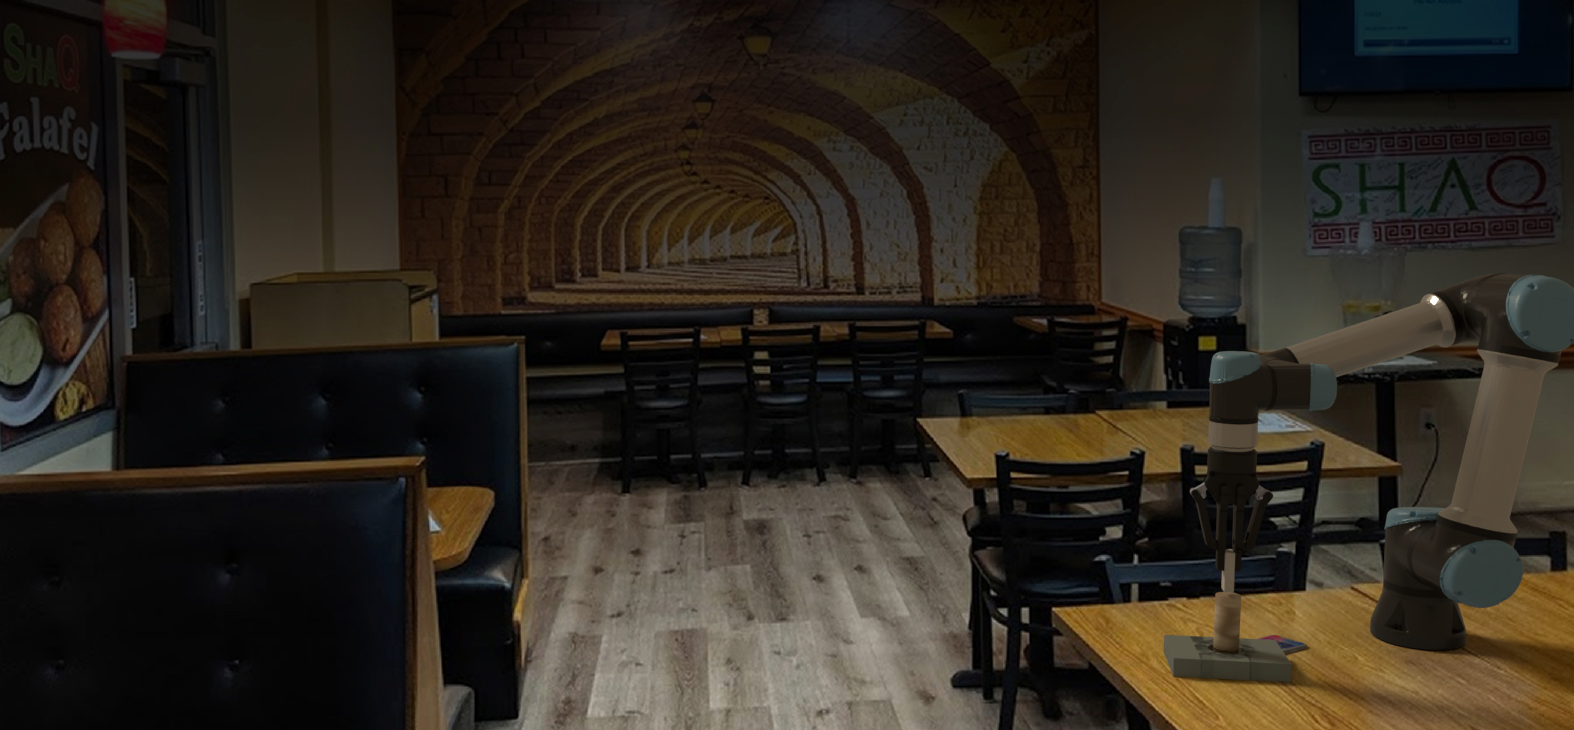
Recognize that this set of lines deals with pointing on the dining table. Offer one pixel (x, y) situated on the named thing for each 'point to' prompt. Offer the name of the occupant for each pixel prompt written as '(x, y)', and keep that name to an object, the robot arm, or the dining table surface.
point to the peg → (1227, 623)
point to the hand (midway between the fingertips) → (1227, 589)
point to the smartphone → (1286, 643)
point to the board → (1226, 659)
